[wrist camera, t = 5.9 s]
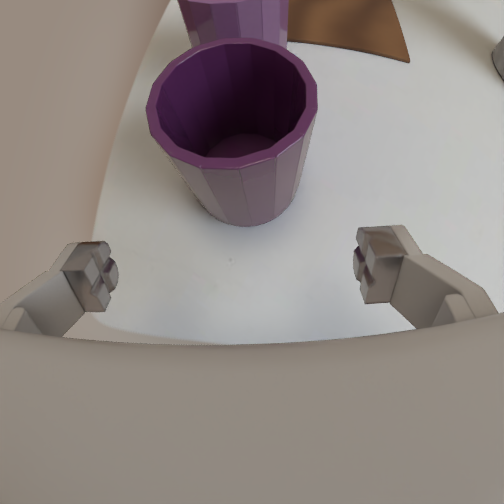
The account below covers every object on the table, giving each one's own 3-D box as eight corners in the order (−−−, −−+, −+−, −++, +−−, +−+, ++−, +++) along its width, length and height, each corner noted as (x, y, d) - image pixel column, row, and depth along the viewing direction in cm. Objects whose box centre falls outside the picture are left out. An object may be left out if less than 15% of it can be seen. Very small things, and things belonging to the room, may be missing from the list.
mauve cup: (184, 67, 24) (153, -16, 14) (247, 30, 24) (239, -52, 14) (236, 111, 23) (219, 17, 13) (303, 68, 23) (313, -23, 13)
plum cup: (176, 174, 22) (119, 99, 12) (251, 115, 22) (241, 20, 12) (240, 249, 21) (214, 207, 11) (319, 181, 21) (352, 100, 11)
